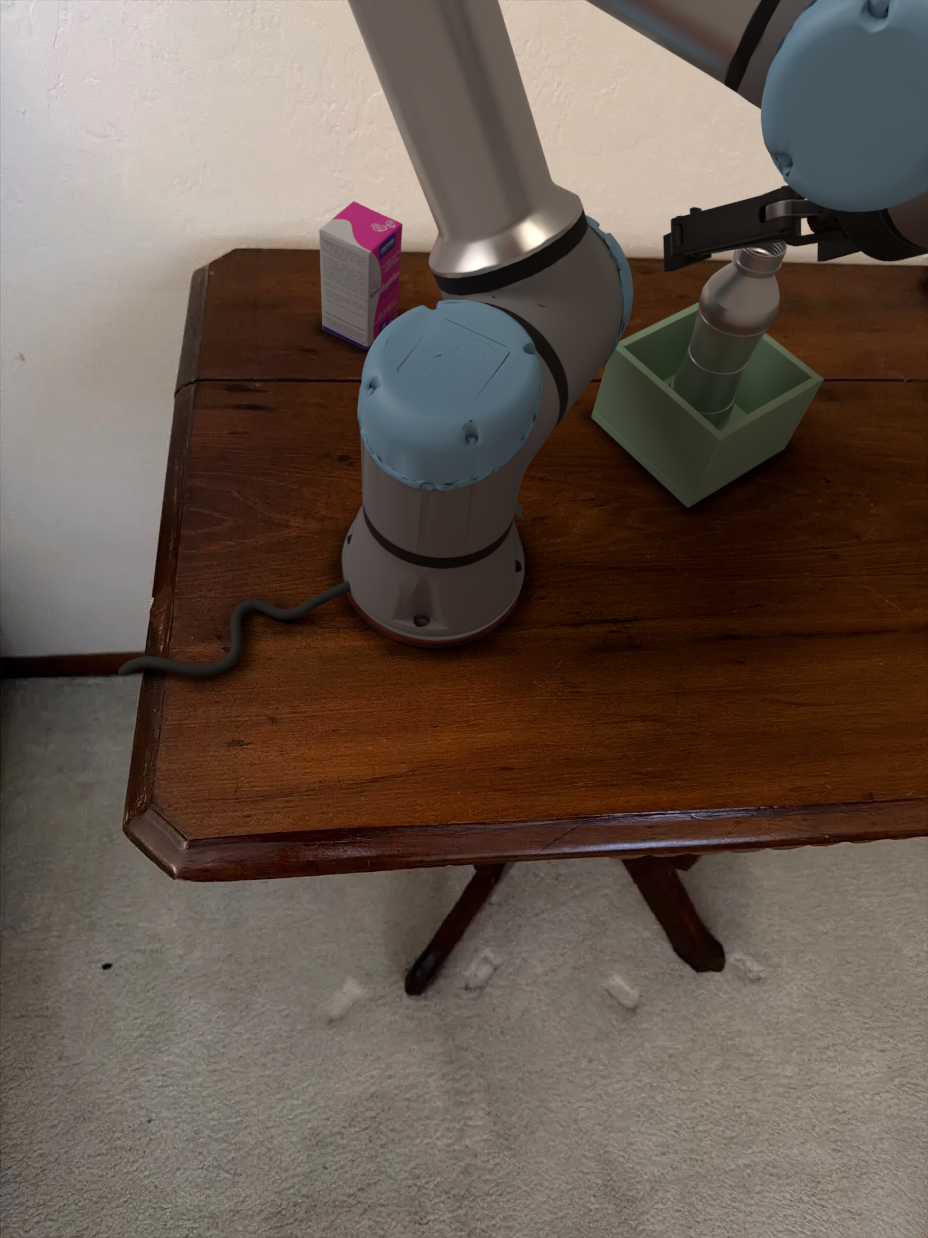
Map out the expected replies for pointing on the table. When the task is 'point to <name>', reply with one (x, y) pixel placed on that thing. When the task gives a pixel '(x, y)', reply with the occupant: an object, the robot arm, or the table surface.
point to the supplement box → (359, 274)
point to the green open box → (680, 435)
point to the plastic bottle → (729, 330)
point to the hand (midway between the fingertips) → (745, 248)
